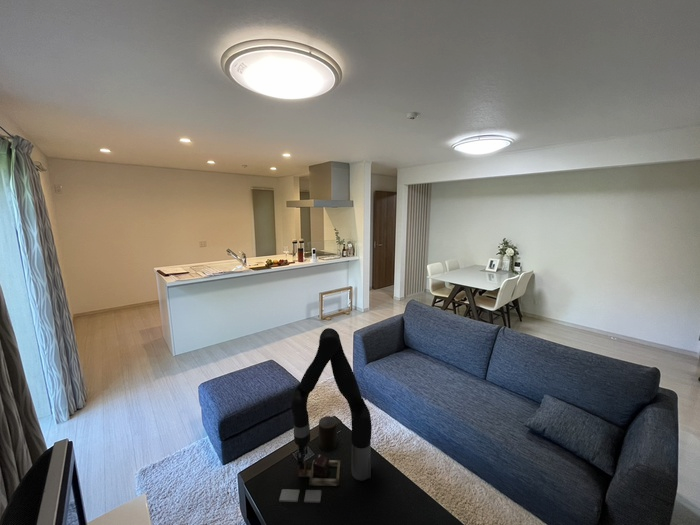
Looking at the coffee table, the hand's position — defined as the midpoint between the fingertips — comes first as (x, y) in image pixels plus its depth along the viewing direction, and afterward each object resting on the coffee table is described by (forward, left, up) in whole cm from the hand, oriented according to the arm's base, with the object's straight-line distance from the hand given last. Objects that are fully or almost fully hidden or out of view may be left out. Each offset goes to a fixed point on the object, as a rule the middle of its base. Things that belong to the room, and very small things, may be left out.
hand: (303, 461), depth 137 cm
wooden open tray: (-7, 0, -7) cm, 10 cm away
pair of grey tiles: (-1, +11, -8) cm, 13 cm away
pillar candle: (-10, -19, -8) cm, 23 cm away
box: (-8, -1, -8) cm, 11 cm away
